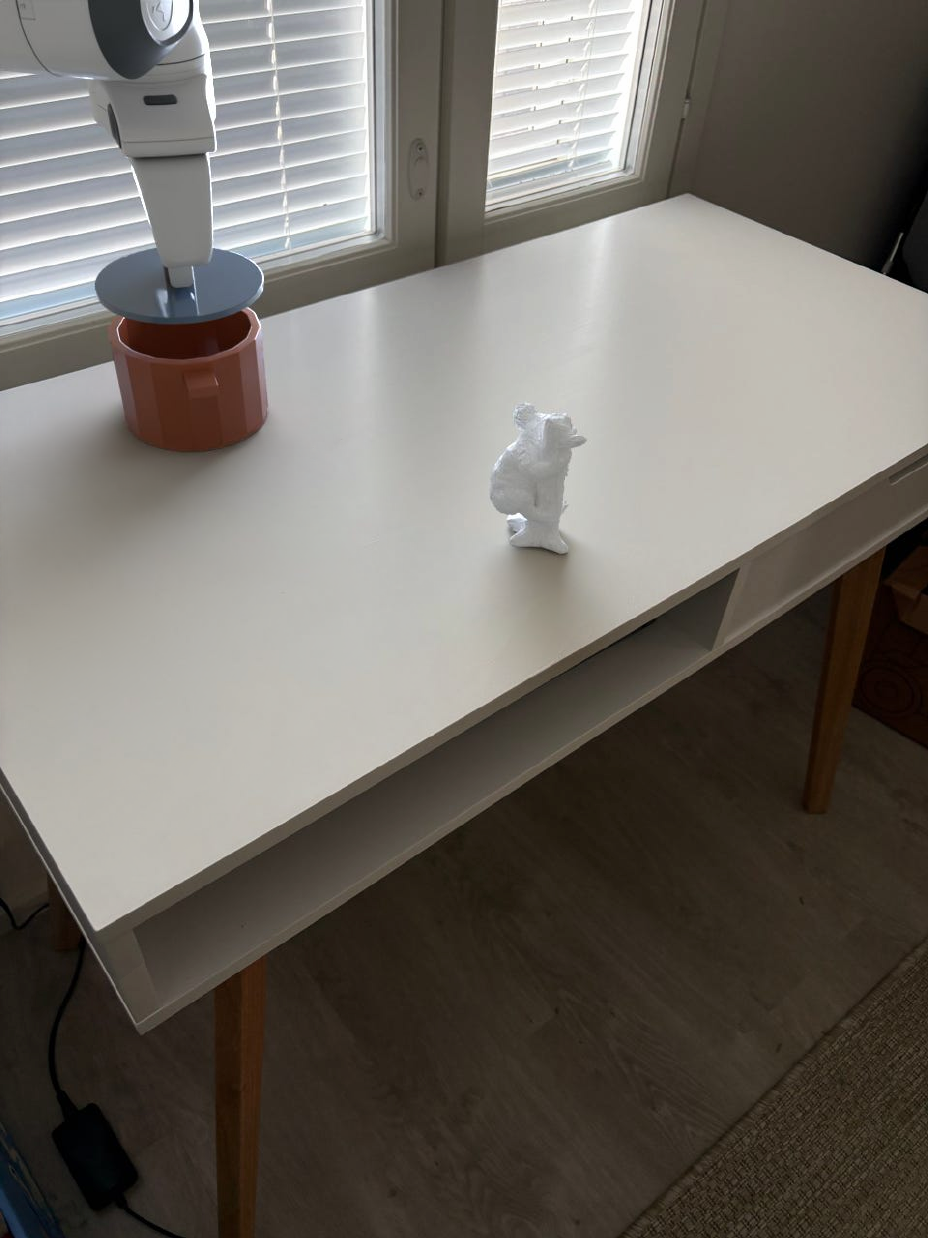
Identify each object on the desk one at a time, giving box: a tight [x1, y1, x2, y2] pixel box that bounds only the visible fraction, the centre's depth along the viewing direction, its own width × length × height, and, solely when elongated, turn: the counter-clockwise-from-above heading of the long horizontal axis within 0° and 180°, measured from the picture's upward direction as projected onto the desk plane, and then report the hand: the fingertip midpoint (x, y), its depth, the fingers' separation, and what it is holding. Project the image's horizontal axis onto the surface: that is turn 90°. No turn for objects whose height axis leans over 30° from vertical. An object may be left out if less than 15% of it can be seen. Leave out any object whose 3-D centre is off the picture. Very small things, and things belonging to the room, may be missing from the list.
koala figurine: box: [488, 402, 588, 555], centre depth 78 cm, size 8×7×12 cm
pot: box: [107, 307, 269, 452], centre depth 90 cm, size 13×18×8 cm
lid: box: [94, 247, 265, 325], centre depth 83 cm, size 14×14×5 cm
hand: (178, 273), depth 83 cm, fingers closed on lid, 2 cm apart
